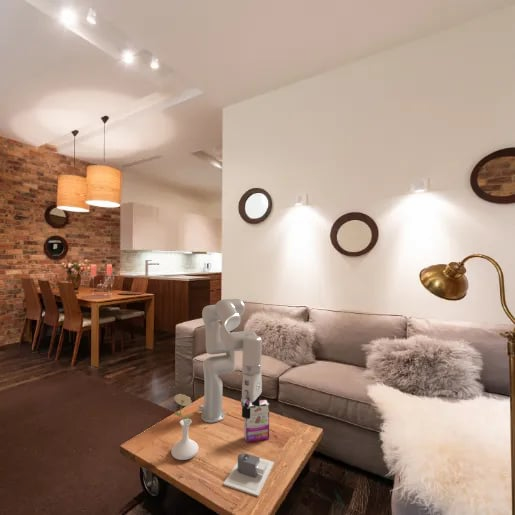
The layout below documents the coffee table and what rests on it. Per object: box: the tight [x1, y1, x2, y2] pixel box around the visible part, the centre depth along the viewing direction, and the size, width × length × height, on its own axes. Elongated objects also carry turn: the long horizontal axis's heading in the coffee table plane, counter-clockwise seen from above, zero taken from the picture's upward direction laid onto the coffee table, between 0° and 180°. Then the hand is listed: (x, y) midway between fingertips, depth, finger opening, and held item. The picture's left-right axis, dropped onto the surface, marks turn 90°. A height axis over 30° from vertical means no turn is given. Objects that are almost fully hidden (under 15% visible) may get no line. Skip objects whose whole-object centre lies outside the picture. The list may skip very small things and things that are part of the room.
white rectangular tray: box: [222, 457, 275, 497], centre depth 113 cm, size 14×18×1 cm
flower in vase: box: [171, 393, 200, 461], centre depth 124 cm, size 13×11×25 cm
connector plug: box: [237, 452, 266, 478], centre depth 113 cm, size 11×4×5 cm, turn 69°
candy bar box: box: [243, 399, 270, 444], centre depth 136 cm, size 11×5×16 cm, turn 105°
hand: (251, 411), depth 113 cm, fingers open, 9 cm apart
